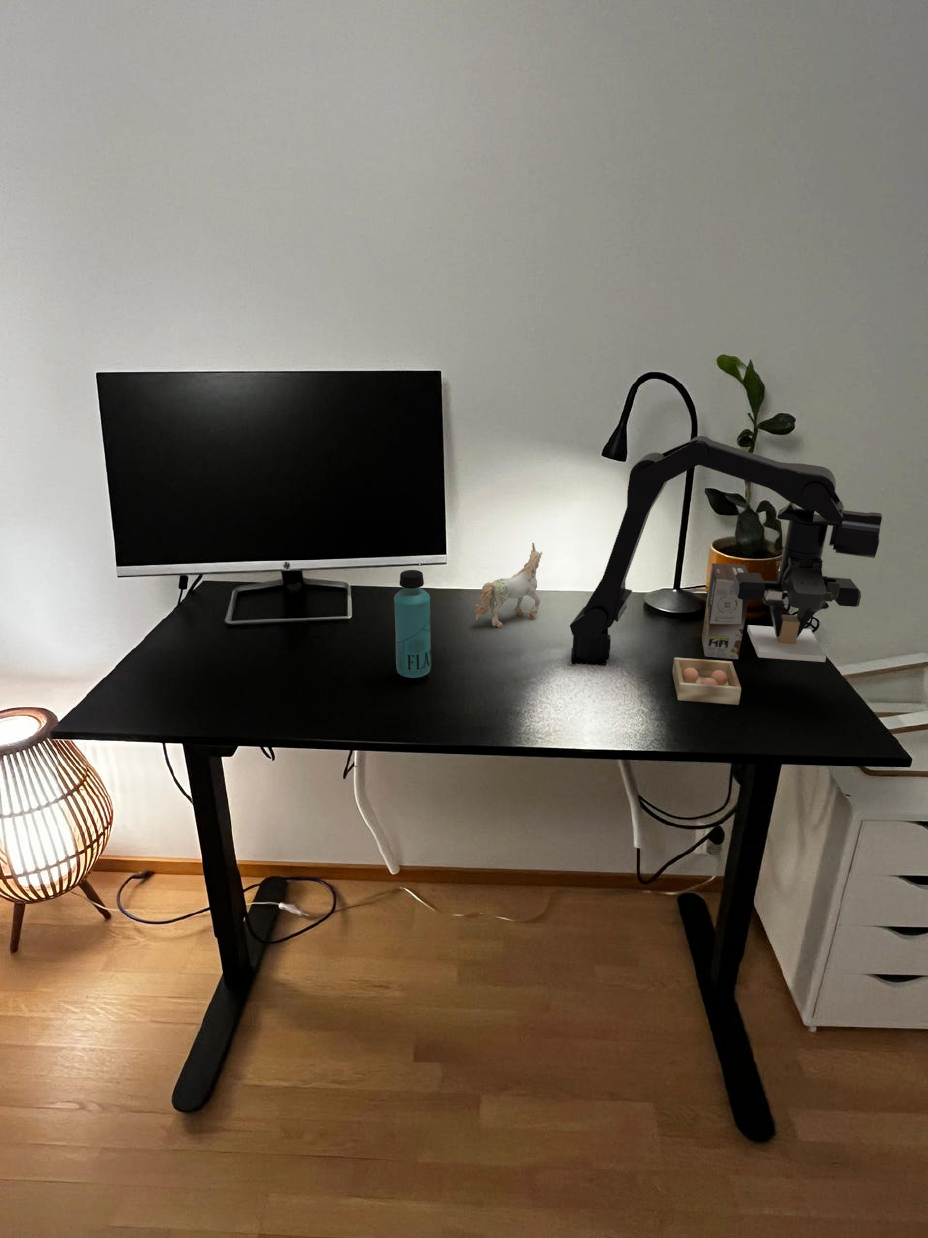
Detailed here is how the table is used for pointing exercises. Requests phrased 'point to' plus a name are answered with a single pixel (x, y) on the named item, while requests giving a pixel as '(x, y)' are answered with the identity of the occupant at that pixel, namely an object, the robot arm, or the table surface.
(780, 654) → the lid
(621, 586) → the robot arm
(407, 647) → the beverage bottle
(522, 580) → the unicorn figurine
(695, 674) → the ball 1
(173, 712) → the table surface
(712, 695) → the box
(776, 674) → the table surface
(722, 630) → the coffee box
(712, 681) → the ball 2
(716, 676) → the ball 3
